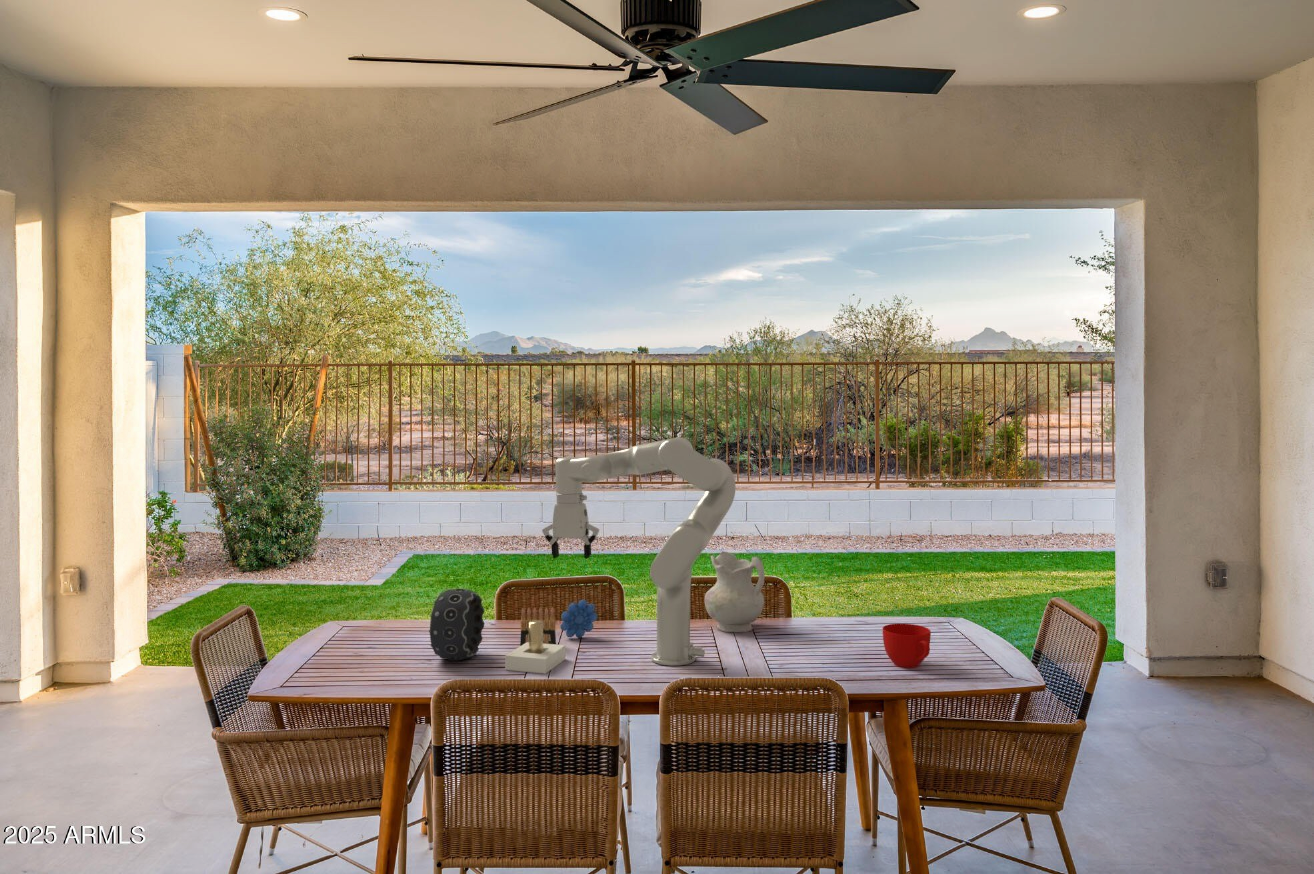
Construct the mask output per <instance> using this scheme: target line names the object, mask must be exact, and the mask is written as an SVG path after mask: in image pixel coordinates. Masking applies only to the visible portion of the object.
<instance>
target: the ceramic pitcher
mask: <svg viewBox="0 0 1314 874" xmlns="http://www.w3.org/2000/svg"><path fill="white" fill-rule="evenodd" d="M710 561H711V563H712V566H713V568H714V570H715V572H716V582H715V584H714V585H713V586H712V587H711V588H710V589H708V591H706V593H705V594H704V604H705V610H706V612H707V614H708V615H709V617H710V618H711V619H712V620H713V621H715V622H717V623H718V624H717V626H716V629H718V630H719V631H721V632H724V633H746V632H749V631H753V626H752V625H751V623H754V622H755V621H756V620H758V618H759V617H760V615H761V613H762V612H763V609H764V605H765V599H764V598H765V597H764V593H762V589H763V586H764V584H765V567H764V564H763V561H762V558H761V557H759V556H751V561H749V560H748V559H744V558H741V559H740V558H739V559H738V558H737V557H736V555H735V553H730V552H728V551H721V552H719V553H718V555H717V556H716V557H715V556H714V555H710ZM754 569H756V570H757V573H758V574H757V575H758V579H757V582H756V584H755V585H754V584H753V582H752V576H753V575H752V574H753V572H754Z"/></svg>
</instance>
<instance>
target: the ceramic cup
mask: <svg viewBox="0 0 1314 874" xmlns="http://www.w3.org/2000/svg"><path fill="white" fill-rule="evenodd" d="M931 633H932V632H931V629H929V628H927V627H925V626H923V625H918V624H912V623H891V624H886V625H884V626H882V642H883V647H884V650H885V653H886V655H887V656H888V658H889V659H890V661H891V662H892V663H893V665H895V666H896V667H899V668H903V669H905V668H906V669H914V668H918V667H919V665H921V663H922V662H923V661H925V659H926V658H927V657H928V656H929V654H930V651H931V647H930V646H931V645H930V644H931Z"/></svg>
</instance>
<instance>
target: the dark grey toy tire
mask: <svg viewBox="0 0 1314 874" xmlns="http://www.w3.org/2000/svg"><path fill="white" fill-rule="evenodd" d="M482 602H483V598H482V597H481V596H480V595H479V593H478V592H475V591H473V590H470V589H466V588H452V589H450V588H448V589H445V591H444V592H440V593H439V594H438V596H437V598H436V599H435V600H433V606H432V609H431V613H430V615H429V616H430V620H429V621H430V622H429V623H430V624H429V629H428V633H429V638H430V639H429V640H430V647H431V648H432V651H433V652H434V655H437V656H439V657H440V658H441V659H442V660H443V659H446V660H450V661H462V660H468V659H469V658H472V657H474V655H476V654H477V653H478V652H479V649H480V648H479V645H480V644H481V643H482V642H483V636H482V632H483V630H484V628H485V621H484V619H483V615H484V613H485V608H484V606H483V605H482Z"/></svg>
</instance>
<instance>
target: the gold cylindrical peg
mask: <svg viewBox="0 0 1314 874" xmlns="http://www.w3.org/2000/svg"><path fill="white" fill-rule="evenodd" d="M543 621H544V620H543ZM543 621H539V619H537V620H534V621H533V620H532V621H530V622H529V653H537V654H541V653H543Z"/></svg>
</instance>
